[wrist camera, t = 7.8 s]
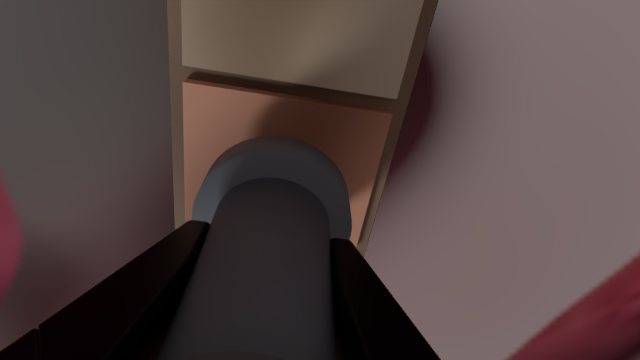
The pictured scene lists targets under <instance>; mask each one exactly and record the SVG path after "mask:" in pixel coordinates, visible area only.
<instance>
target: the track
mask: <svg viewBox="0 0 640 360" xmlns="http://www.w3.org/2000/svg"><path fill="white" fill-rule="evenodd" d="M437 3H438V0H167V14H168V39H169V40H168V43H169V70H170V71H169V72H170V100H171V128H172V158H173V187H174V216H175V230H176V229H177V228H179V227H180V226H182V225H183V224H184V223H186V222H187V221H189V220H192V208H193V204H194V200H195V198H196V195H197V193H198V191H199V189H200V187H201V185H202V183H203V181H204V179H205V177H206V175H207V173H208V171H209V169H210V168H211V166H212V164H213V163H214V162H215V160H216V159H217V158H218V157H219V156H220V155H221V154H222V153H224V152H225V151H226V150H227V149H229V148H230V147H232V146H234V145H235V144H238V143H240V142H242V141H245V140H248V139H252V138H256V137H263V136H281V137H288V138H293V139H297V140H300V141H303V142H306V143H308V144H310V145H312V146H314V147H316V148H317V149H319V150H320V151H322V152H323V153H324V154H326V155H327V156H328V157H329V158H330V159H331V160H332V161H333V162H334V163H335V164H336V166H337V167H338V168H339V170H340V171H341V173H342V175H343V177H344V179H345V182H346V185H347V188H348V195H349V202H350V209H351V217H352V231H351V237H350V241H351V242H352V243H353V244H354V246H355V247H356V248H357V250H358V251H359V252H360V254H361V255H362V256H363V257H364V254H365V250H366V247H367V243H368V240H369V237H370V233H371V230H372V226H373V223H374V220H375V216H376V213H377V209H378V206H379V202H380V199H381V195H382V192H383V189H384V185H385V182H386V178H387V175H388V172H389V168H390V164H391V161H392V158H393V154H394V151H395V147H396V144H397V141H398V137H399V134H400V130H401V127H402V123H403V120H404V116H405V113H406V109H407V106H408V103H409V99H410V96H411V93H412V89H413V86H414V82H415V79H416V75H417V72H418V69H419V65H420V62H421V58H422V54H423V51H424V48H425V45H426V41H427V37H428V34H429V31H430V27H431V24H432V20H433V16H434V14H435V10H436V7H437Z"/></svg>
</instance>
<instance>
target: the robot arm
mask: <svg viewBox="0 0 640 360" xmlns="http://www.w3.org/2000/svg"><path fill="white" fill-rule="evenodd" d="M209 227H210V224H209V222H206V221H198V220H189V221H187V222H186V223H184V224H183V225H182V226H180V227H179V228H177V229H176V230H174V231H173V232H171V233H170V234H169V235H167V236H166V237H164V238H163V239H162V240H160V241H159V242H157V243H156V244H154V245H153V246H151V247H150V248H149V249H147V250H146V251H144V252H143V253H141V254H140V255H139V256H137V257H136V258H134V259H133V260H132V261H130V262H129V263H127V264H126V265H124V266H123V267H122V268H120V269H118V270H117V271H116V272H114V273H113V274H111V275H110V276H108V277H107V278H105V279H104V280H103V281H101V282H100V283H98V284H97V285H95V286H94V287H93V288H91V289H90V290H88V291H87V292H85V293H84V294H83V295H81V296H80V297H78V298H77V299H75V300H74V301H73V302H71V303H70V304H68V305H67V306H65V307H64V308H62V309H61V310H60V311H58V312H57V313H55V314H54V315H52V316H51V317H49V318H48V319H47V320H45V321H44V322H42V323H41V324H39V326H38V330H37V329H32V330H30V331H29V332H28V333H26V334H25V335H23V336H22V337H20V338H19V339H18V340H16V341H15V342H13V343H12V344H11V345H9V346H7V347H6V348H4V349H3V350H1V351H0V360H157V358H158V356H159V353H160V350H161V348H162V345H163V343H164V340H165V338H166V335H167V333H168V330H169V328H170V325H171V323H172V320H173V318H174V315H175V313H176V310H177V307H178V305H179V302H180V300H181V297H182V295H183V292H184V290H185V287H186V285H187V282H188V280H189V277H190V275H191V272H192V270H193V268H194V265H195V262H196V260H197V257H198V255H199V252H200V250H201V247H202V245H203V242H204V240H205V237H206V235H207V232H208V230H209ZM330 246H331V267H332V286H333V299H334V319H335V340H336V360H441V359H440V358H439V357H438V355H437V354H436V353H435V352H434V350H433V349H432V348H431V346H430V345H429V344H428V342H427V341H426V340H425V338H424V337H423V336H422V334H421V333H420V332H419V330H418V329H417V328H416V326H415V325H414V324H413V322H412V321H411V320H410V318H409V317H408V316H407V314H406V313H405V312H404V310H403V309H402V308H401V306H400V305H399V304H398V302H397V301H396V300H395V299H394V297H393V296H392V295H391V293H390V292H389V291H388V289H387V288H386V287H385V285H384V284H383V283H382V281H381V280H380V279H379V277H378V276H377V275H376V273H375V272H374V271H373V270H372V268H371V267H370V266H369V264H368V263H367V262H366V260H365V259H364V258H363V256H362V255H361V254H360V252H359V251H358V250H357V248H356V247H355V246H354V244H353V243H352V242H351V241H350V240H349V239H343V238H335V237H334V238H331V240H330Z"/></svg>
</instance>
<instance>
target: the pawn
mask: <svg viewBox="0 0 640 360" xmlns="http://www.w3.org/2000/svg"><path fill="white" fill-rule="evenodd" d="M192 220H198V221H206V222H209V224H210V227H209V230H208V232H207V235H206V237H205V240H204V242H203V245H202V247H201V250H200V252H199V255H198V257H197V260H196V262H195V265H194V268H193V270H192V272H191V275H190V277H189V280H188V282H187V285H186V287H185V290H184V292H183V295H182V297H181V300H180V302H179V305H178V307H177V310H176V313H175V315H174V318H173V320H172V323H171V325H170V328H169V330H168V333H167V335H166V338H165V340H164V343H163V345H162V348H161V350H160V353H159V356H158V358H157V360H336V340H335V319H334V299H333V286H332V267H331V246H330V240H331V238H334V237H335V238H343V239H349V240H350V237H351V231H352V217H351V209H350V202H349V195H348V188H347V185H346V182H345V179H344V177H343V175H342V173H341V171H340V170H339V168H338V167H337V166H336V164H335V163H334V162H333V161H332V160H331V159H330V158H329V157H328V156H327V155H326V154H324V153H323V152H322V151H320V150H319V149H317V148H316V147H314V146H312V145H310V144H308V143H306V142H303V141H300V140H297V139H293V138H288V137H281V136H263V137H256V138H252V139H248V140H245V141H242V142H240V143H238V144H235V145H234V146H232V147H230V148H229V149H227V150H226V151H225V152H224V153H222V154H221V155H220V156H219V157H218V158H217V159H216V160H215V162H214V163H213V164H212V166H211V168H210V169H209V171H208V173H207V175H206V177H205V179H204V181H203V183H202V185H201V187H200V189H199V191H198V193H197V195H196V198H195V200H194V204H193V208H192Z"/></svg>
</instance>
